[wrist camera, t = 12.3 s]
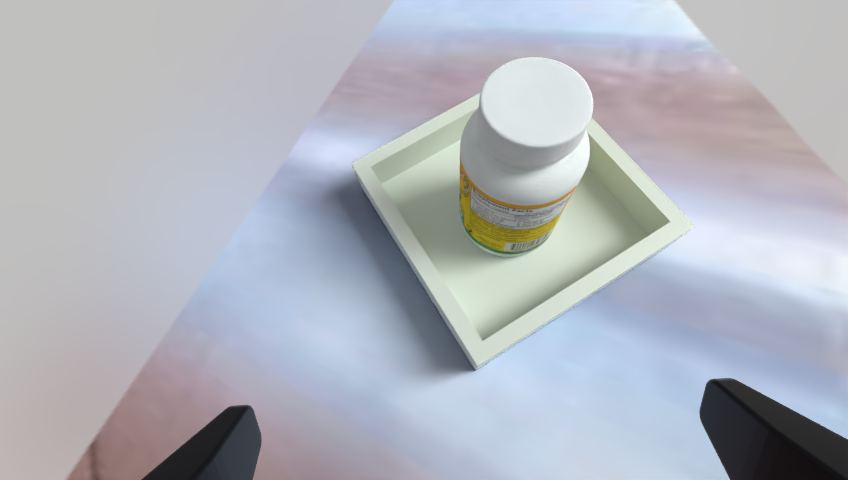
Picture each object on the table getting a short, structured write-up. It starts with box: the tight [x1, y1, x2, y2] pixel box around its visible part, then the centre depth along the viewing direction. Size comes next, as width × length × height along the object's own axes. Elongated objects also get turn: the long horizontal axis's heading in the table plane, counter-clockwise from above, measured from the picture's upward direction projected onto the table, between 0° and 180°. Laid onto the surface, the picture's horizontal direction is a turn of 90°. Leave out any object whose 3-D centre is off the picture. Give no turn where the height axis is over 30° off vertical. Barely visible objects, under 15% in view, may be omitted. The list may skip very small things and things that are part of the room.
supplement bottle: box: [459, 57, 593, 257], centre depth 19 cm, size 5×5×10 cm
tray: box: [351, 93, 695, 371], centre depth 23 cm, size 13×13×3 cm
